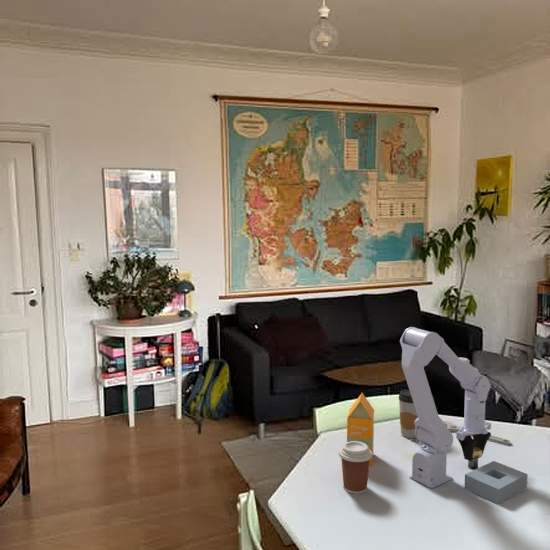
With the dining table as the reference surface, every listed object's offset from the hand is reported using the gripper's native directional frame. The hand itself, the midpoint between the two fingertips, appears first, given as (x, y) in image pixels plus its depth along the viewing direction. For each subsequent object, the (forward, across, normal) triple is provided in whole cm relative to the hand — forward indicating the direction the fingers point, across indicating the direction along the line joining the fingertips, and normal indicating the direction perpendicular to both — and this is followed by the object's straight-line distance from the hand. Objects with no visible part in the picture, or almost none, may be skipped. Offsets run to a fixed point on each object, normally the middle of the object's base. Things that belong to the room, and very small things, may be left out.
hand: (473, 457), depth 155 cm
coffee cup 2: (+3, +4, +27) cm, 28 cm away
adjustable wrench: (+4, +21, +15) cm, 26 cm away
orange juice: (+3, -23, +24) cm, 33 cm away
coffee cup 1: (+3, -37, +12) cm, 39 cm away
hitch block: (+3, -6, -11) cm, 13 cm away
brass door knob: (+3, 0, 0) cm, 3 cm away
